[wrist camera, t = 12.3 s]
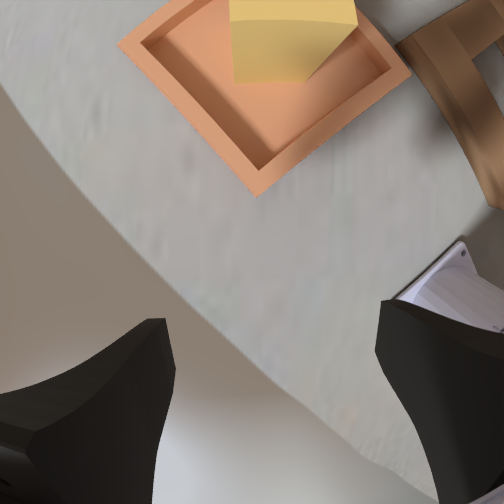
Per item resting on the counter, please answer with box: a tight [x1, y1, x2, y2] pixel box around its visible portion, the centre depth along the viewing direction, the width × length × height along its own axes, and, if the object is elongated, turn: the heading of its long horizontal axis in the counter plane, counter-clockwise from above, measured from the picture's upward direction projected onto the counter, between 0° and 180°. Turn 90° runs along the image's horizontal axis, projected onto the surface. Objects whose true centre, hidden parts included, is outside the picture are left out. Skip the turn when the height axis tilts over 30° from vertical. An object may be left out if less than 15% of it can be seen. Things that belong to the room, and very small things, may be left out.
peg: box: [229, 0, 358, 84], centre depth 12 cm, size 4×4×9 cm
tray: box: [117, 0, 412, 198], centre depth 16 cm, size 12×12×2 cm
